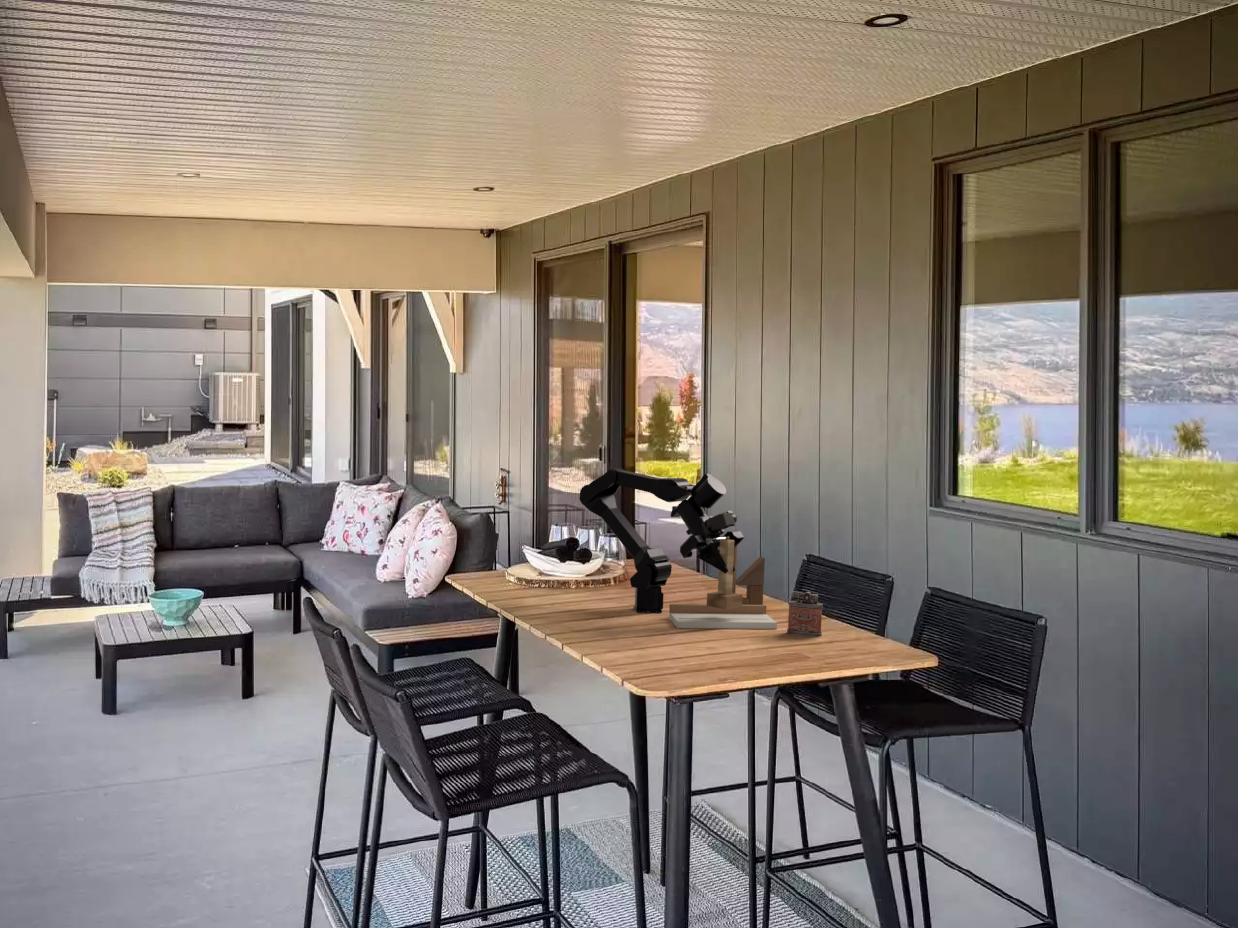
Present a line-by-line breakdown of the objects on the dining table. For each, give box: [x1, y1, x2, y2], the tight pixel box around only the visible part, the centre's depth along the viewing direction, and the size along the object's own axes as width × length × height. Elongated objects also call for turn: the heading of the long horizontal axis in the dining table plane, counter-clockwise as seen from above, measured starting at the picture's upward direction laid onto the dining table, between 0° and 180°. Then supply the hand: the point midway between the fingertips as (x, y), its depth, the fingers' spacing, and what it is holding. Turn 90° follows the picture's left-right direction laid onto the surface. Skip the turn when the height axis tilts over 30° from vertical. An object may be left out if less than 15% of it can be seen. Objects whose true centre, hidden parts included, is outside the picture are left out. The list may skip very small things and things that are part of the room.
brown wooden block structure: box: [732, 545, 766, 605], centre depth 300 cm, size 4×11×18 cm, turn 100°
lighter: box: [786, 590, 824, 638], centre depth 275 cm, size 8×3×10 cm, turn 71°
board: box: [668, 603, 778, 630], centre depth 285 cm, size 24×12×4 cm, turn 97°
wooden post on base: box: [706, 537, 743, 610], centre depth 282 cm, size 6×6×17 cm
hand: (730, 571), depth 281 cm, fingers closed on wooden post on base, 2 cm apart
